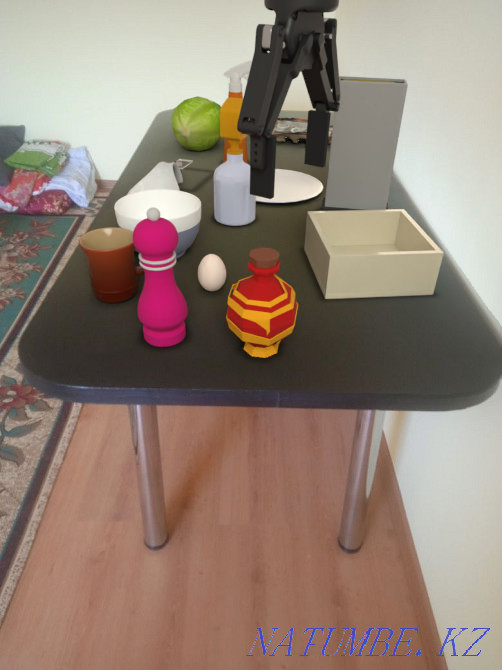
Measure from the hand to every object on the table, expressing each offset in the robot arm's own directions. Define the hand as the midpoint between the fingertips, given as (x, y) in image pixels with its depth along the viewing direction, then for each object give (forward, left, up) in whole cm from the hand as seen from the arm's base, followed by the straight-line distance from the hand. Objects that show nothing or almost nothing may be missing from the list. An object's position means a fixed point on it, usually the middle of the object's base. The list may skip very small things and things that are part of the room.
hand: (290, 179), depth 62 cm
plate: (+66, -8, -25) cm, 71 cm away
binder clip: (+75, +15, -25) cm, 81 cm away
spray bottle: (+87, -2, -25) cm, 91 cm away
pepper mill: (+3, +17, -25) cm, 30 cm away
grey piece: (+113, -23, -25) cm, 118 cm away
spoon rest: (+59, +20, -24) cm, 67 cm away
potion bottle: (-1, +3, -25) cm, 25 cm away
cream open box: (+21, -19, -24) cm, 38 cm away
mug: (+16, +24, -25) cm, 38 cm away
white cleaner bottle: (+47, +3, -25) cm, 53 cm away
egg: (+16, +9, -25) cm, 31 cm away
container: (+47, -24, -25) cm, 58 cm away
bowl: (+32, +18, -25) cm, 44 cm away
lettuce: (+103, +9, -25) cm, 107 cm away
